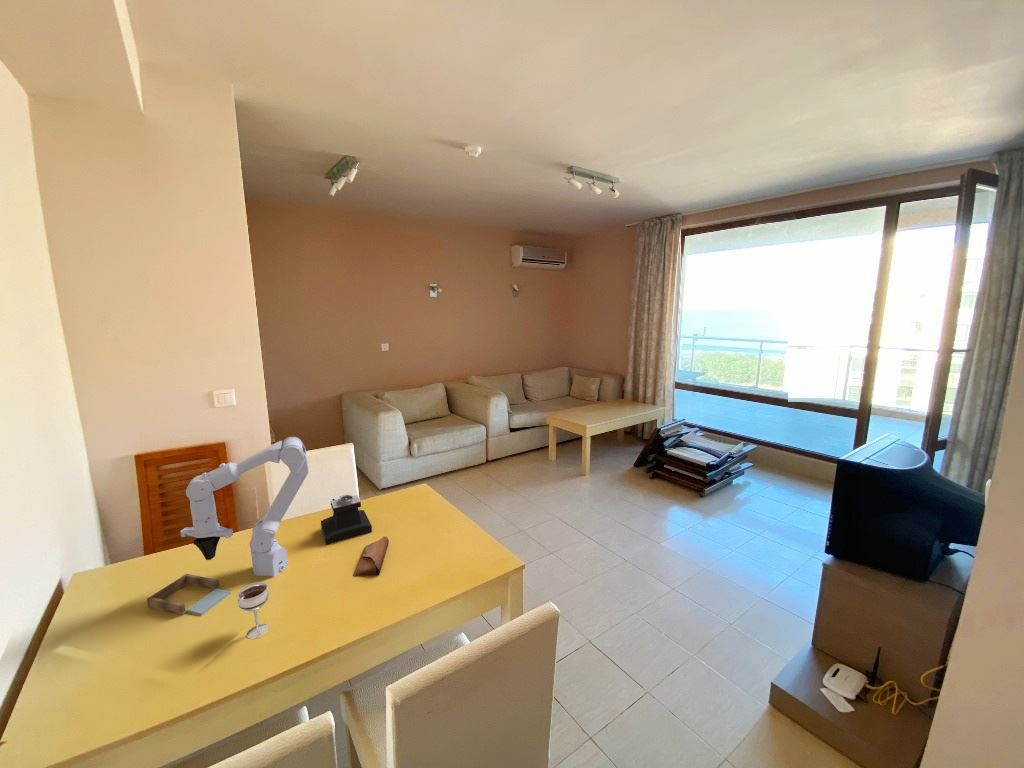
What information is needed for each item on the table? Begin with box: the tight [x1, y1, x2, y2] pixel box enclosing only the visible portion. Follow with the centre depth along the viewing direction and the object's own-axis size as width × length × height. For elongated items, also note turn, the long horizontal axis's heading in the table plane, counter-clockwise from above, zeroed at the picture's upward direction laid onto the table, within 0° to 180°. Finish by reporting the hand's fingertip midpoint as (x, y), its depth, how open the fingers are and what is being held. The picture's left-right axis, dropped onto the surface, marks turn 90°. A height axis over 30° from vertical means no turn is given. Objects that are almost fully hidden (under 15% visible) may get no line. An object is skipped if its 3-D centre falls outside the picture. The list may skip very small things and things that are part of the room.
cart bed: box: [146, 573, 221, 616], centre depth 117 cm, size 12×11×4 cm
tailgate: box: [186, 588, 232, 616], centre depth 115 cm, size 1×9×5 cm
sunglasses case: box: [353, 536, 390, 578], centre depth 137 cm, size 18×7×7 cm
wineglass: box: [236, 581, 270, 640], centre depth 105 cm, size 7×7×12 cm
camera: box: [320, 494, 373, 546], centre depth 154 cm, size 16×14×15 cm
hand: (210, 558), depth 122 cm, fingers closed
